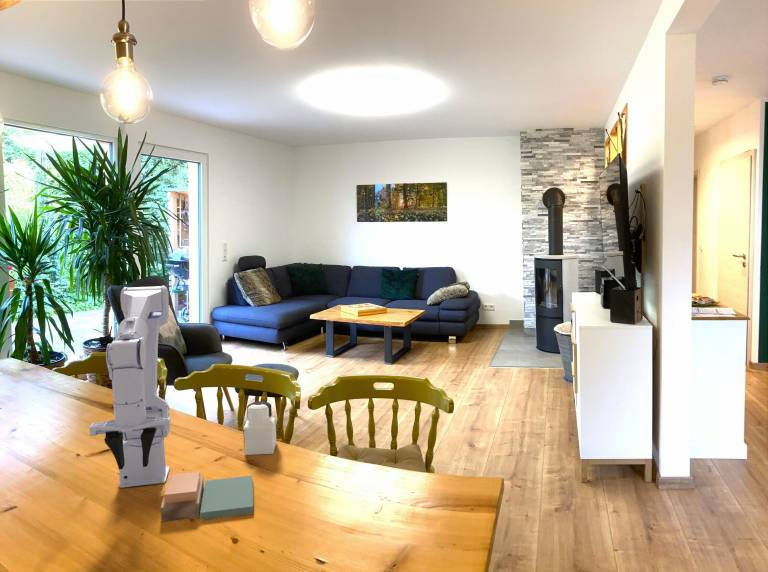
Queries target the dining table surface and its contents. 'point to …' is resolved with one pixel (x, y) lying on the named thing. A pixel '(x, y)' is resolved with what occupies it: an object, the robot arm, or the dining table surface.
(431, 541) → the dining table surface
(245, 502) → the teal rectangular slab
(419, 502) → the dining table surface
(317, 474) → the dining table surface
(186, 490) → the terracotta tile
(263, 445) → the medicine bottle
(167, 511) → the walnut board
